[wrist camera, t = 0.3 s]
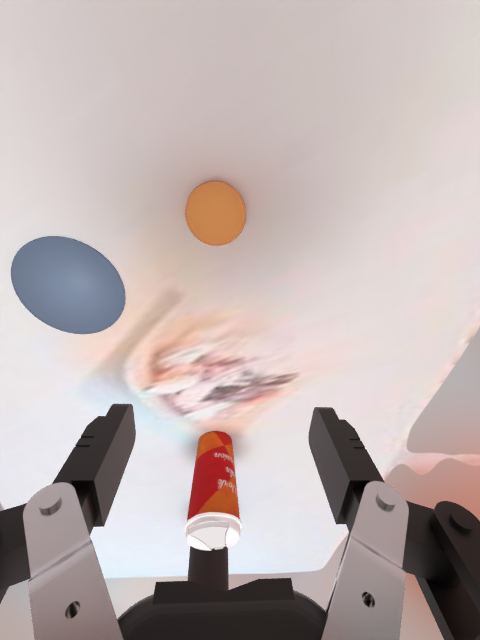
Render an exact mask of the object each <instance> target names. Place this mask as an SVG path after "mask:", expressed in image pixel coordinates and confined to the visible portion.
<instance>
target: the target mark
mask: <svg viewBox="0 0 480 640" xmlns="http://www.w3.org/2000/svg"><path fill="white" fill-rule="evenodd" d="M11 279H12V283H13V287H14V289H15V292H16V294H17V296H18V297H19V299H20V301H21V302H22V303H23V305H24V306H25V307H26V308H27V309H28V310H29V311H30V312H31V313H32V314H33V315H34V316H35V317H37V318H38V319H39V320H41V321H42V322H44V323H46V324H47V325H49V326H51V327H54V328H56V329H59V330H61V331H65V332H69V333H75V334H91V333H96V332H100V331H102V330H105V329H107V328H108V327H110V326H111V325H113V324H114V323H115V322H116V321H117V320H118V318H119V317H120V315H121V313H122V311H123V309H124V305H125V290H124V286H123V283H122V280H121V278H120V276H119V274H118V272H117V271H116V269H115V268H114V267H113V265H112V264H111V263H110V262H109V261H108V260H107V259H106V258H105V257H104V256H103V255H102V254H100V253H99V252H98V251H96V250H95V249H93V248H92V247H90V246H88V245H86V244H84V243H82V242H79V241H77V240H74V239H70V238H65V237H43V238H39V239H36V240H33V241H31V242H29V243H27V244H26V245H24V246H23V247H22V248H21V249H20V250H19V251H18V252H17V254H16V255H15V257H14V260H13V262H12V267H11Z"/></svg>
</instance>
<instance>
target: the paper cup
mask: <svg viewBox="0 0 480 640" xmlns="http://www.w3.org/2000/svg"><path fill="white" fill-rule="evenodd" d="M242 527H243V524H242V522H241V520H240V517H239V507H238V497H237V486H236V476H235V467H234V457H233V448H232V441H231V438H230V436H229V435H227V434H226V433H223V432H219V431H212V432H208V433H206V434H204V435H202V436H201V438H200V439H199V443H198V449H197V455H196V462H195V469H194V476H193V483H192V490H191V497H190V504H189V511H188V518H187V522H186V523H185V525H184V532H185V534H186V540H187V543H188V544H189V545H190V546H192V547H194V548H196V549H200V550H207V551H211V550H212V549H213V548H215V550H217V549H223V548H224V547H225V546H227V548H229V547H231V546H233V545H234V544H236V543H237V542H238V540H239V538H240V532H241V530H242ZM225 544H226V545H225Z"/></svg>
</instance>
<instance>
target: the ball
mask: <svg viewBox="0 0 480 640" xmlns="http://www.w3.org/2000/svg"><path fill="white" fill-rule="evenodd" d="M185 214H186V221H187V224H188V226H189V228H190V230H191V232H192V233H193V234H194V236H195V237H196V238H198V239H199V240H200V241H202V242H204V243H206V244H209V245H215V246H219V245H224V244H227V243H229V242H231V241H233V240H234V239H235V238H236V237H237V236H238V235H239V234H240V233H241V231H242V229H243V227H244V224H245V220H246V209H245V204H244V202H243V199H242V197H241V196H240V194H239V193H238V192H237V191H236V190H235V189H234V188H233V187H232V186H230V185H228V184H226V183H223V182H219V181H210V182H206V183H204V184H201V185H200V186H198V187H197V188H196V189H195V190H194V191H193V192H192V193H191V195H190V196H189V198H188V201H187V204H186V212H185Z"/></svg>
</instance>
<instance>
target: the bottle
mask: <svg viewBox="0 0 480 640" xmlns="http://www.w3.org/2000/svg"><path fill="white" fill-rule="evenodd" d="M225 545H226V544H225ZM188 581H192V582H195V583H198V584H201V585H204V586H208V587H211V588H214V589H217V590H220V591H228V548H227V546H225V547H224V548H223V549H217V550H215V548H213V549H212V550H211V551H207V550H200V549H196V548H194V547H192V546H190V558H189V570H188Z"/></svg>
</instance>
